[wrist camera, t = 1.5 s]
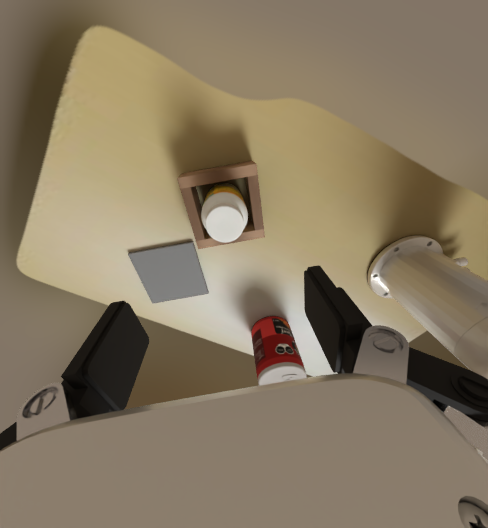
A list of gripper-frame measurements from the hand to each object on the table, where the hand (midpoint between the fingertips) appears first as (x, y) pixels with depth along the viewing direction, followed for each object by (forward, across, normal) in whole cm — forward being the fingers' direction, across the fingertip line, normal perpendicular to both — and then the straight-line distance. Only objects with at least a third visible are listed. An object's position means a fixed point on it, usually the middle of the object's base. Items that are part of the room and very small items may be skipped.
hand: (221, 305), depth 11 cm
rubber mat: (+22, +11, +10) cm, 26 cm away
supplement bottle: (+22, 0, 0) cm, 22 cm away
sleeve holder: (+22, 0, 0) cm, 22 cm away
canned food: (+22, -4, +27) cm, 35 cm away
